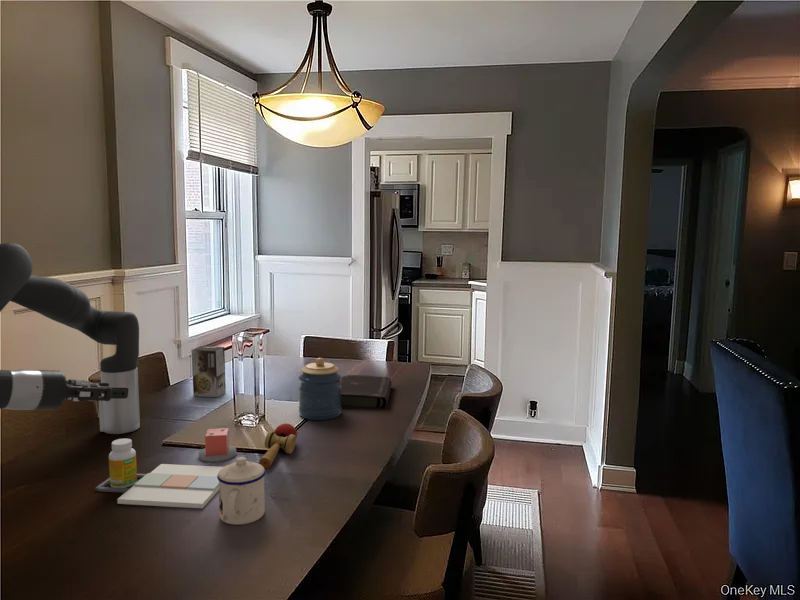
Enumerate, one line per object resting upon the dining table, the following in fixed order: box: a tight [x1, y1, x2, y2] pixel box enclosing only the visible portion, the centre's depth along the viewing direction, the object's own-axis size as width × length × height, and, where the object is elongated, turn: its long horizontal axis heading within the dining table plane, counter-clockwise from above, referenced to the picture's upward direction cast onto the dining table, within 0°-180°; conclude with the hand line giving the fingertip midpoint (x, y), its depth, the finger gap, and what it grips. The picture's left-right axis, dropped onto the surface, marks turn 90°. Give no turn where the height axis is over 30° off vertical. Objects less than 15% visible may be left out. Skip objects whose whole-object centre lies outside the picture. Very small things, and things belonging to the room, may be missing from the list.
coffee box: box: [191, 345, 227, 398], centre depth 196 cm, size 9×6×16 cm
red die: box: [198, 427, 237, 463], centre depth 144 cm, size 9×9×6 cm
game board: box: [94, 463, 224, 509], centre depth 127 cm, size 26×18×1 cm
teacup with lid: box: [217, 456, 266, 526], centre depth 112 cm, size 12×9×12 cm
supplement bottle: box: [108, 438, 138, 488], centre depth 127 cm, size 5×5×10 cm
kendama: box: [258, 423, 298, 469], centre depth 145 cm, size 8×6×18 cm
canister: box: [298, 357, 342, 421], centre depth 176 cm, size 13×13×18 cm
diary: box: [340, 374, 393, 410], centre depth 196 cm, size 19×25×5 cm
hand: (117, 390), depth 122 cm, fingers open, 8 cm apart
